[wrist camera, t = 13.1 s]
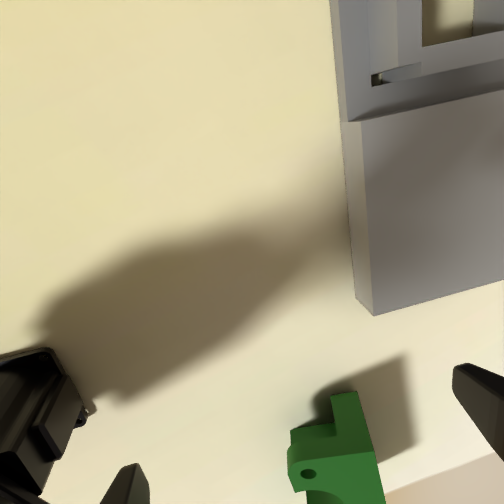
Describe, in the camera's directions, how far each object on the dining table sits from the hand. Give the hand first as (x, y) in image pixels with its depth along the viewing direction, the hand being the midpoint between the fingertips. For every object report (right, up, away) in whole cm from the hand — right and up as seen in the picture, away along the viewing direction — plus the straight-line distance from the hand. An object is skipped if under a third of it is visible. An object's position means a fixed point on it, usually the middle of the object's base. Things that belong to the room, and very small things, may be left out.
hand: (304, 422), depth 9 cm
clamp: (+5, -12, +20) cm, 23 cm away
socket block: (+9, +13, +11) cm, 19 cm away
